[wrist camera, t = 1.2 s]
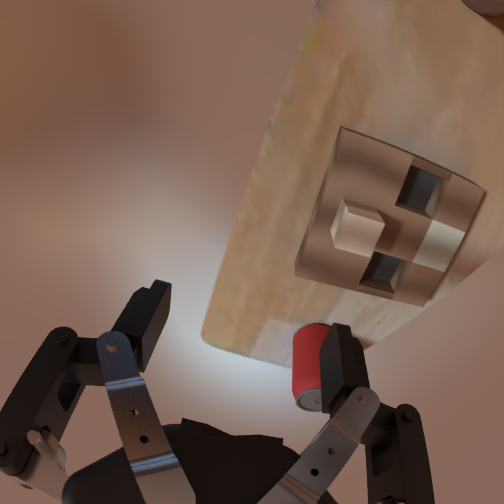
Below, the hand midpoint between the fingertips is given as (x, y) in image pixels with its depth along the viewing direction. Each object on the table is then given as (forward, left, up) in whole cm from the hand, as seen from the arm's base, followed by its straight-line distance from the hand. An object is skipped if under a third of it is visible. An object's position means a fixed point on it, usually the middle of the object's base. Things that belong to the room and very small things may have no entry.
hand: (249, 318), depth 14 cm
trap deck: (+2, +15, -24) cm, 28 cm away
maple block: (+2, +10, -21) cm, 23 cm away
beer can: (+23, +13, -24) cm, 36 cm away
